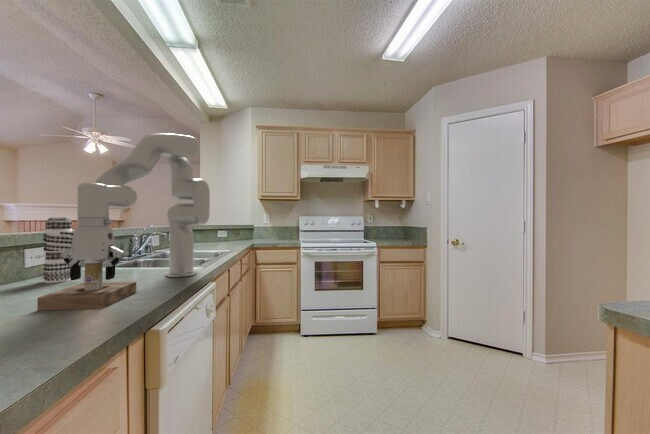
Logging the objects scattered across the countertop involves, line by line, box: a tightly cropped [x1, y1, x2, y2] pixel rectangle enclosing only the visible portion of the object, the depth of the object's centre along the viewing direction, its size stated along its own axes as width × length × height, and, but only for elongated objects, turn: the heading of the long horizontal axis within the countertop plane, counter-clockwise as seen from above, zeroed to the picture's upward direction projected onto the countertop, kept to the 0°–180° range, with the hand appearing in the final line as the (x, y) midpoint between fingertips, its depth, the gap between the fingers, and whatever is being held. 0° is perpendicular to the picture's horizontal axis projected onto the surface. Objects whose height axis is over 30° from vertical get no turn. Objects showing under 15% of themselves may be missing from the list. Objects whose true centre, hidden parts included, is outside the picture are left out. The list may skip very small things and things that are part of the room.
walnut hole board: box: [36, 281, 137, 311], centre depth 87 cm, size 18×16×4 cm
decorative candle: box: [42, 216, 74, 284], centre depth 112 cm, size 9×9×25 cm
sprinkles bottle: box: [83, 259, 104, 292], centre depth 87 cm, size 5×5×14 cm
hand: (93, 279), depth 87 cm, fingers open, 9 cm apart
